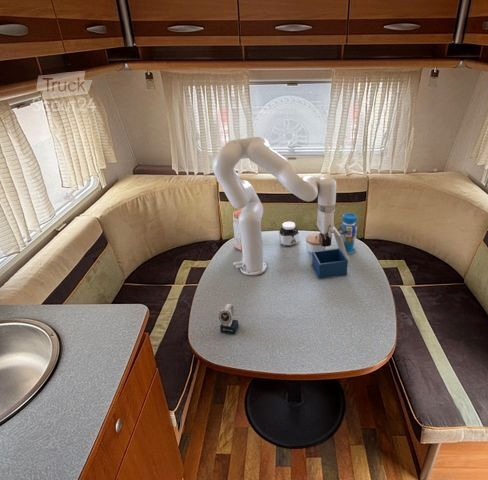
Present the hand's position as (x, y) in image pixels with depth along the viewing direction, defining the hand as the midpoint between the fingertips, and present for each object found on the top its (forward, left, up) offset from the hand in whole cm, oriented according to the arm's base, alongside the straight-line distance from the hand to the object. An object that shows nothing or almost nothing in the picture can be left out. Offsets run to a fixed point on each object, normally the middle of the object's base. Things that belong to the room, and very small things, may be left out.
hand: (324, 242), depth 162 cm
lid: (+7, 0, -1) cm, 7 cm away
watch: (-47, -29, -16) cm, 57 cm away
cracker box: (-31, +33, -16) cm, 48 cm away
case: (+3, 0, -15) cm, 16 cm away
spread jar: (-9, +31, -16) cm, 36 cm away
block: (0, 0, 0) cm, 0 cm away
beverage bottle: (+18, +15, -16) cm, 28 cm away
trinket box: (+2, +18, -16) cm, 24 cm away
